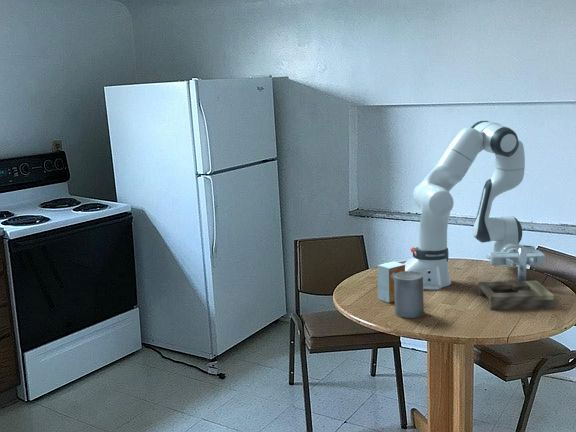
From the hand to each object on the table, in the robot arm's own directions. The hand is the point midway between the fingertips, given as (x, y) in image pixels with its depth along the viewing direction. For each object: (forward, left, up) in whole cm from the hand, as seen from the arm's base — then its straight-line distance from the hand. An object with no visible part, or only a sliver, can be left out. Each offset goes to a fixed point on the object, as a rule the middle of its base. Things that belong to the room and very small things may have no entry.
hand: (523, 264), depth 237 cm
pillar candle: (-46, -25, -9) cm, 53 cm away
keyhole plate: (-7, -15, -9) cm, 19 cm away
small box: (-50, -9, -9) cm, 52 cm away
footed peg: (0, +1, -9) cm, 9 cm away
